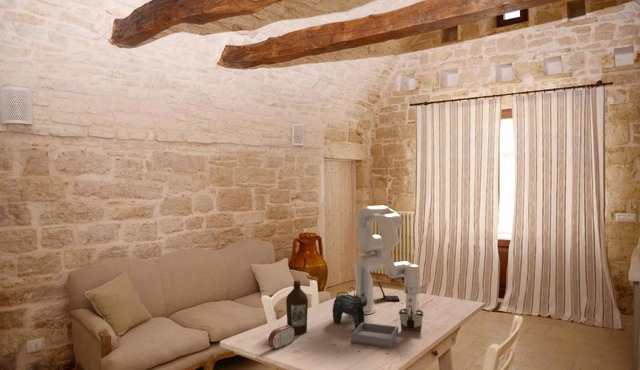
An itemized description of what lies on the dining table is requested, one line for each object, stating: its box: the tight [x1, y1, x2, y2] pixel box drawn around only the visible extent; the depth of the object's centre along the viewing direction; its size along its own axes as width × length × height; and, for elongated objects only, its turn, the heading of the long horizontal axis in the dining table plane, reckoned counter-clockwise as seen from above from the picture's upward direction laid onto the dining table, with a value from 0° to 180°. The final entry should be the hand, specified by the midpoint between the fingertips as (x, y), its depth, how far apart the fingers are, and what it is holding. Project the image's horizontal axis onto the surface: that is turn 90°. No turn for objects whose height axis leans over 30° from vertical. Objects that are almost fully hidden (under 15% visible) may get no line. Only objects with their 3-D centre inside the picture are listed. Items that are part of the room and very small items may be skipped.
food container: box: [397, 307, 425, 334], centre depth 224 cm, size 12×6×10 cm, turn 71°
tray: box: [350, 322, 399, 349], centre depth 212 cm, size 18×18×4 cm
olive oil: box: [285, 279, 309, 336], centre depth 222 cm, size 11×11×25 cm
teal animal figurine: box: [332, 286, 367, 329], centre depth 230 cm, size 20×6×20 cm, turn 47°
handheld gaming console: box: [378, 282, 400, 303], centre depth 279 cm, size 9×12×10 cm
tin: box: [267, 324, 296, 350], centre depth 204 cm, size 15×3×8 cm, turn 141°
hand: (411, 325), depth 224 cm, fingers open, 7 cm apart
